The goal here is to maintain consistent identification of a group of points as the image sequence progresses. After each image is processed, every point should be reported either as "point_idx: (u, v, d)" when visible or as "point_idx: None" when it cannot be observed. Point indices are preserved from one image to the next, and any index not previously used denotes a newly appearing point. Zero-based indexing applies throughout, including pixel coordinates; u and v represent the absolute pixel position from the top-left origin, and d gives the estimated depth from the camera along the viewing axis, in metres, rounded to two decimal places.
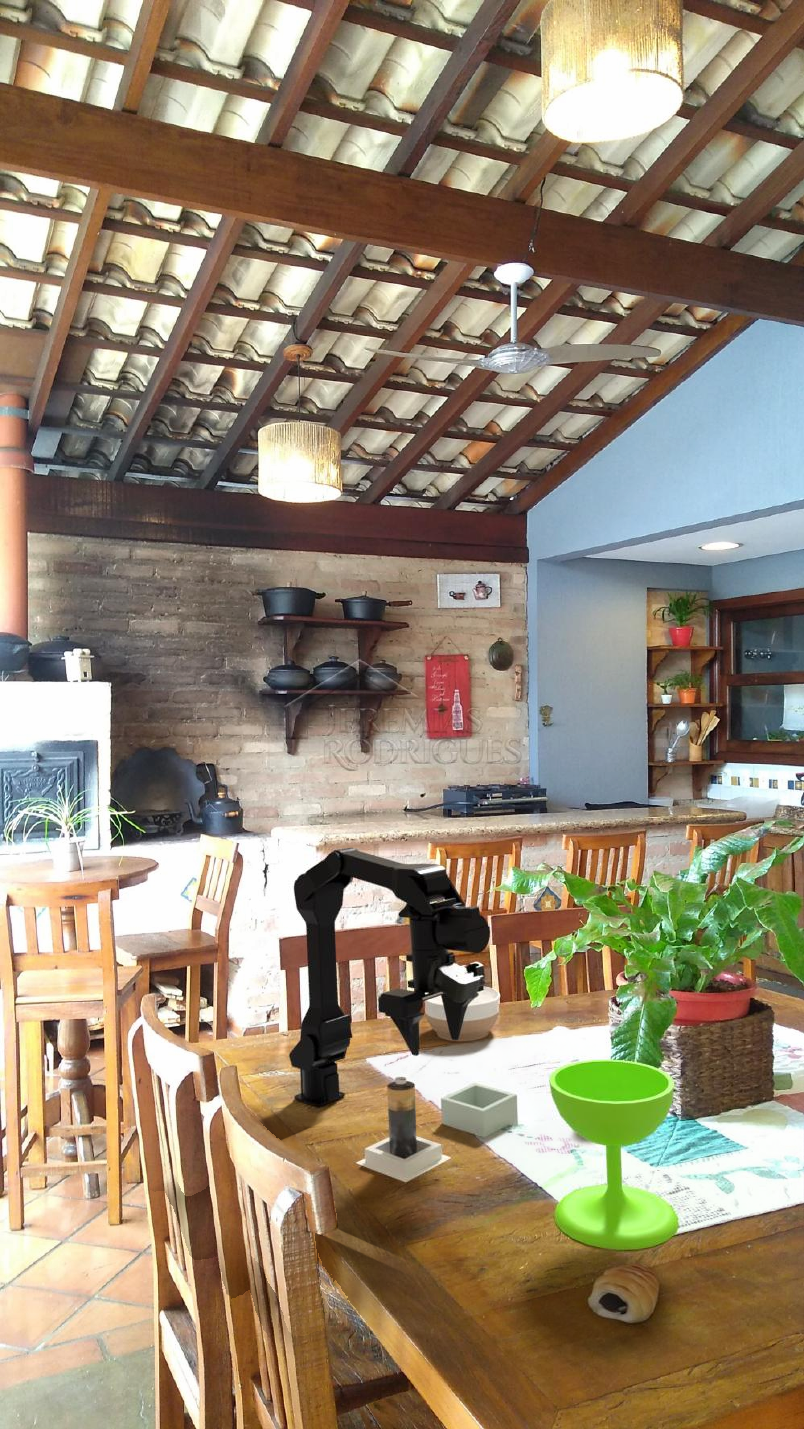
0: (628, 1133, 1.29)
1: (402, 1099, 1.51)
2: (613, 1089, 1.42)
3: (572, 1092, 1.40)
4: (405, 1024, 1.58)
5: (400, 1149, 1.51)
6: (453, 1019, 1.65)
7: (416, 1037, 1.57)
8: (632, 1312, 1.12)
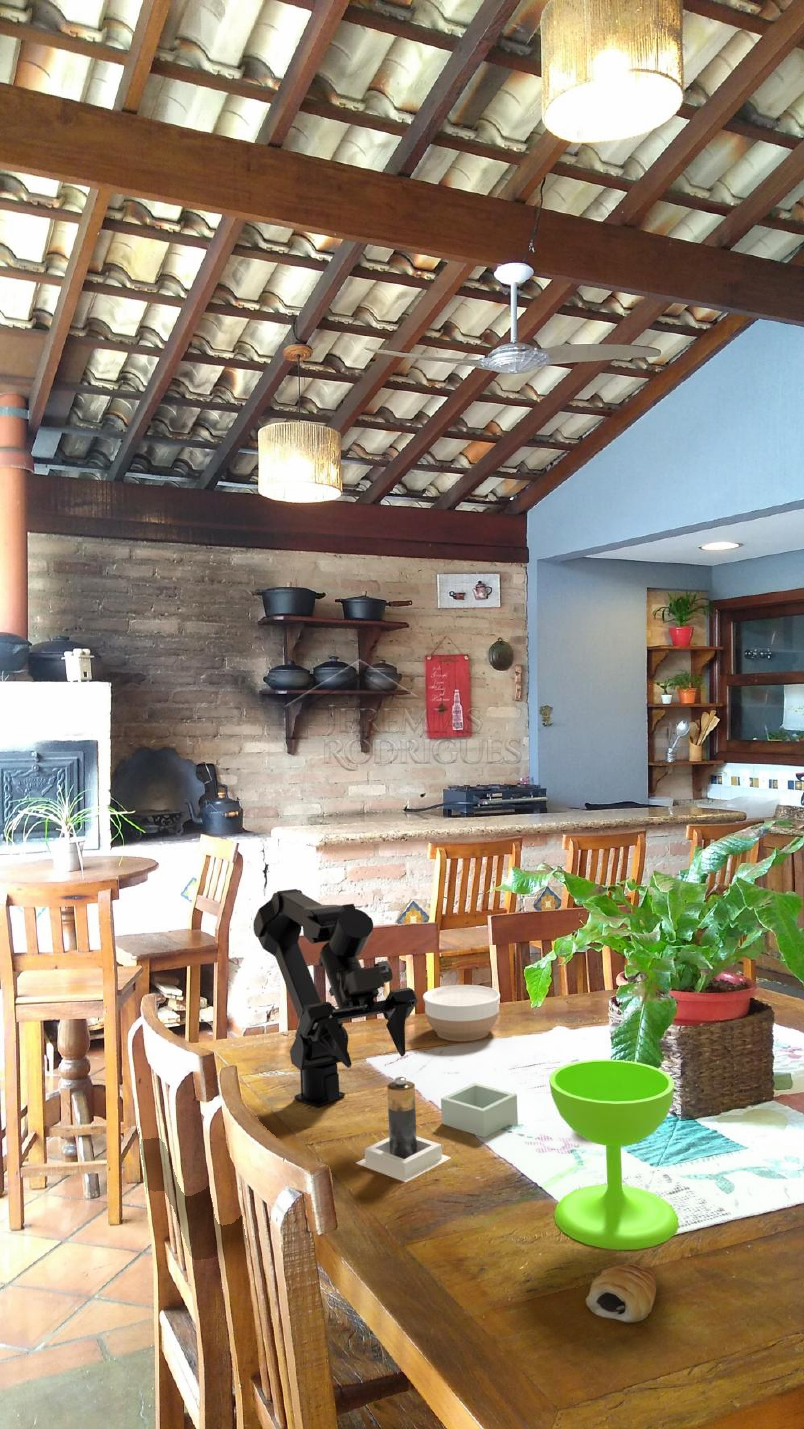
0: (628, 1133, 1.29)
1: (402, 1099, 1.51)
2: (613, 1089, 1.42)
3: (572, 1092, 1.40)
4: (331, 1041, 1.61)
5: (400, 1149, 1.51)
6: (396, 1037, 1.64)
7: (341, 1045, 1.59)
8: (630, 1312, 1.12)
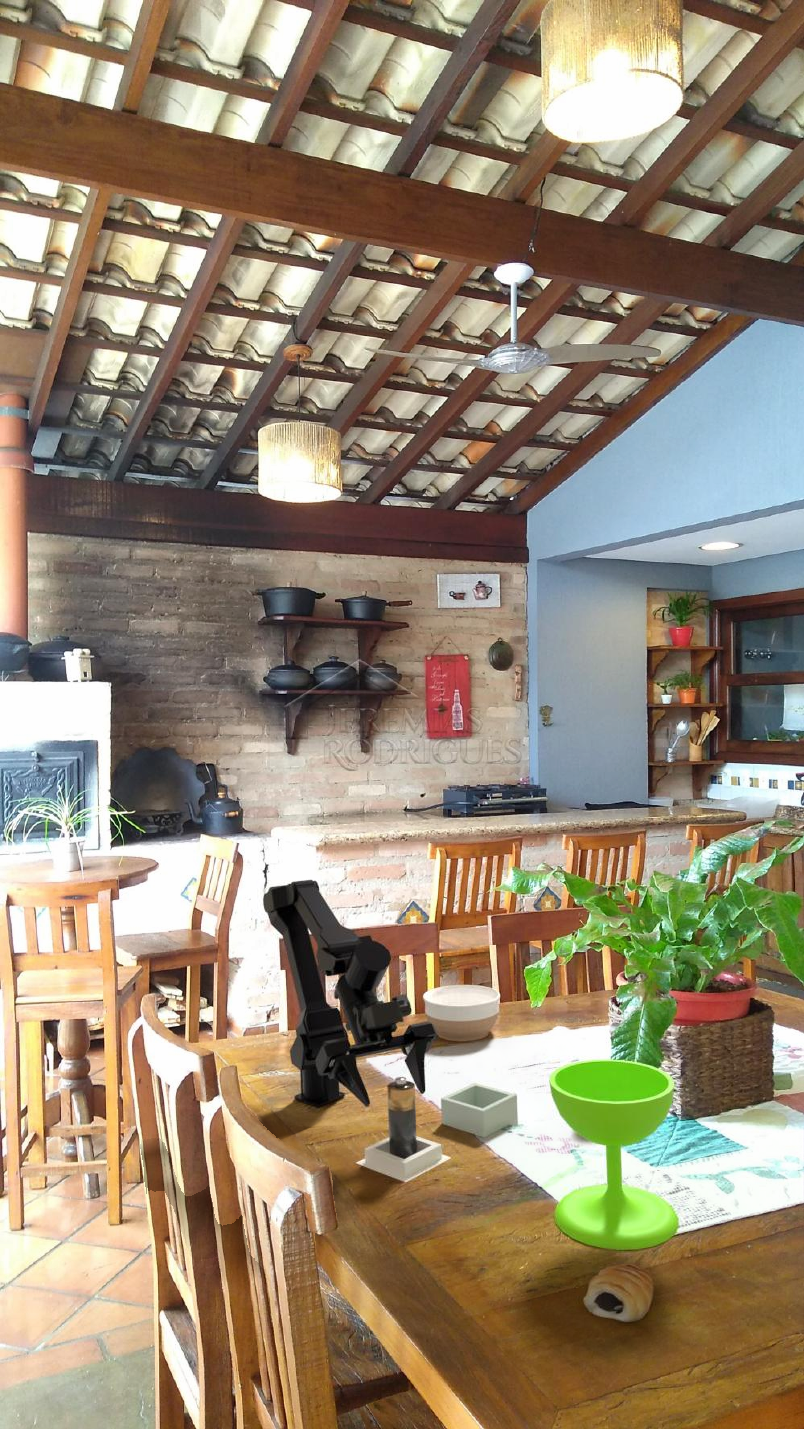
0: (628, 1133, 1.29)
1: (402, 1099, 1.51)
2: (613, 1089, 1.42)
3: (572, 1092, 1.40)
4: (349, 1079, 1.55)
5: (400, 1149, 1.51)
6: (415, 1073, 1.59)
7: (359, 1083, 1.53)
8: (628, 1311, 1.12)
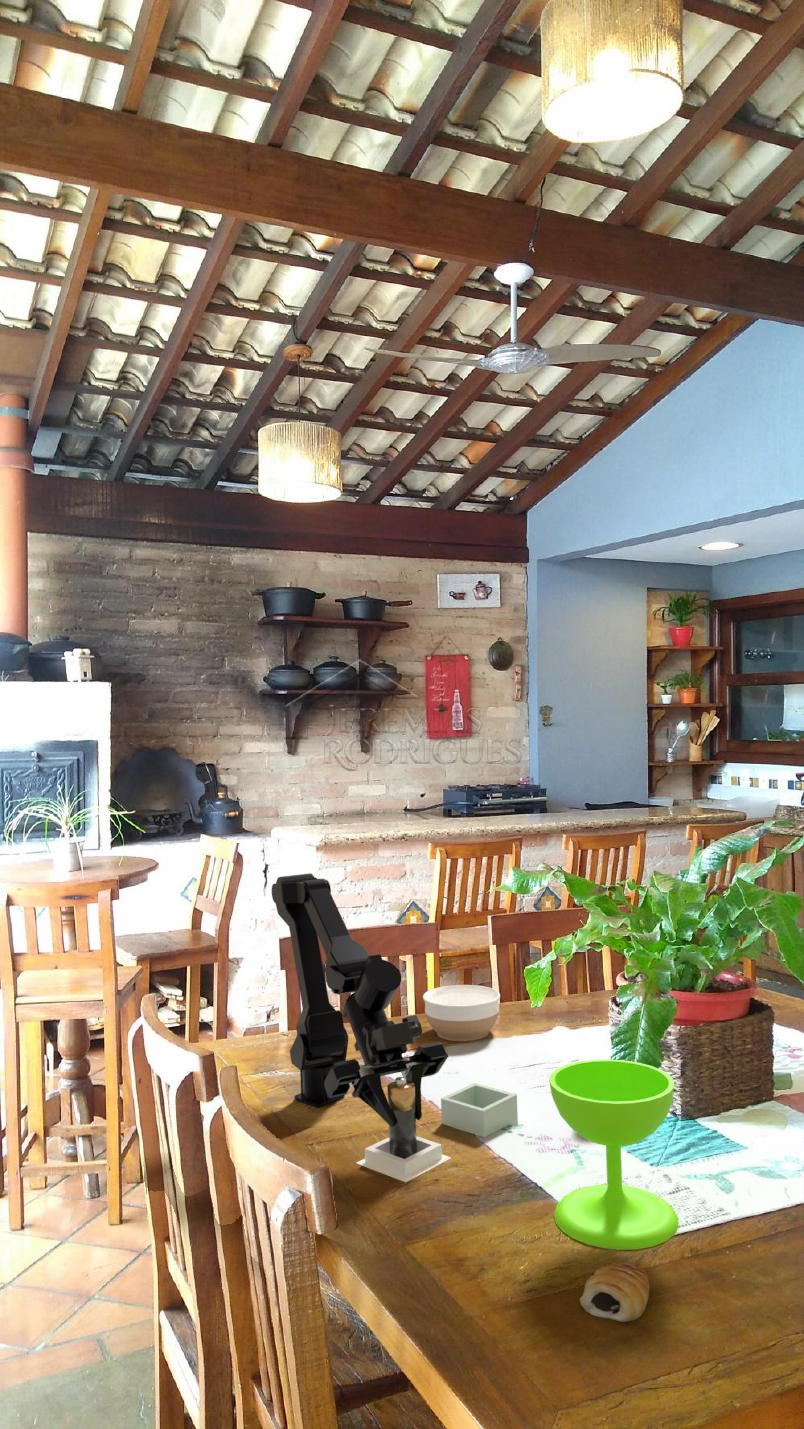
0: (628, 1133, 1.29)
1: (402, 1099, 1.51)
2: (613, 1089, 1.42)
3: (572, 1092, 1.40)
4: (373, 1098, 1.53)
5: (400, 1149, 1.51)
6: None
7: (384, 1103, 1.51)
8: (625, 1311, 1.12)
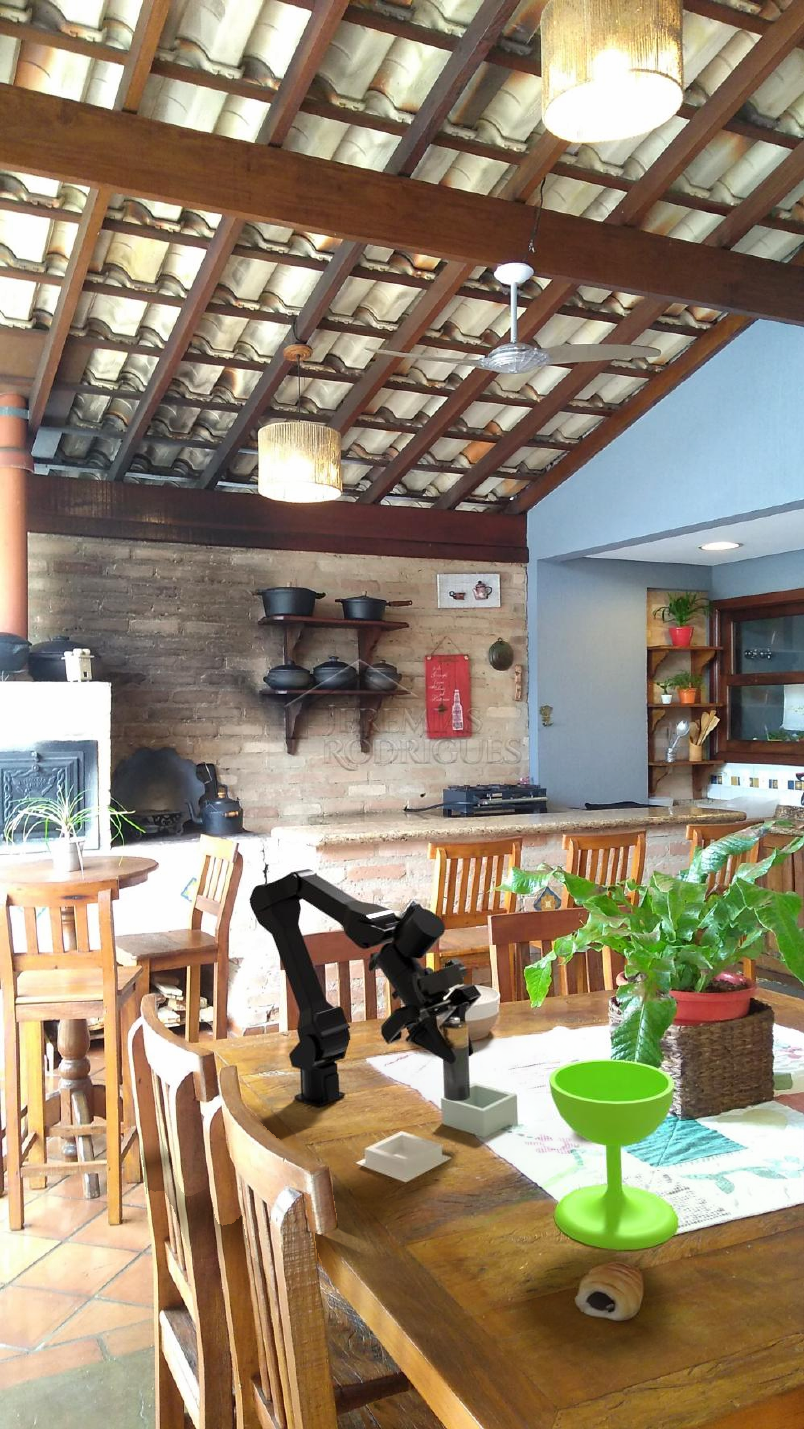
0: (628, 1133, 1.29)
1: (461, 1037, 1.58)
2: (613, 1089, 1.42)
3: (572, 1092, 1.40)
4: (428, 1040, 1.59)
5: (458, 1084, 1.58)
6: None
7: (443, 1042, 1.58)
8: (621, 1310, 1.12)
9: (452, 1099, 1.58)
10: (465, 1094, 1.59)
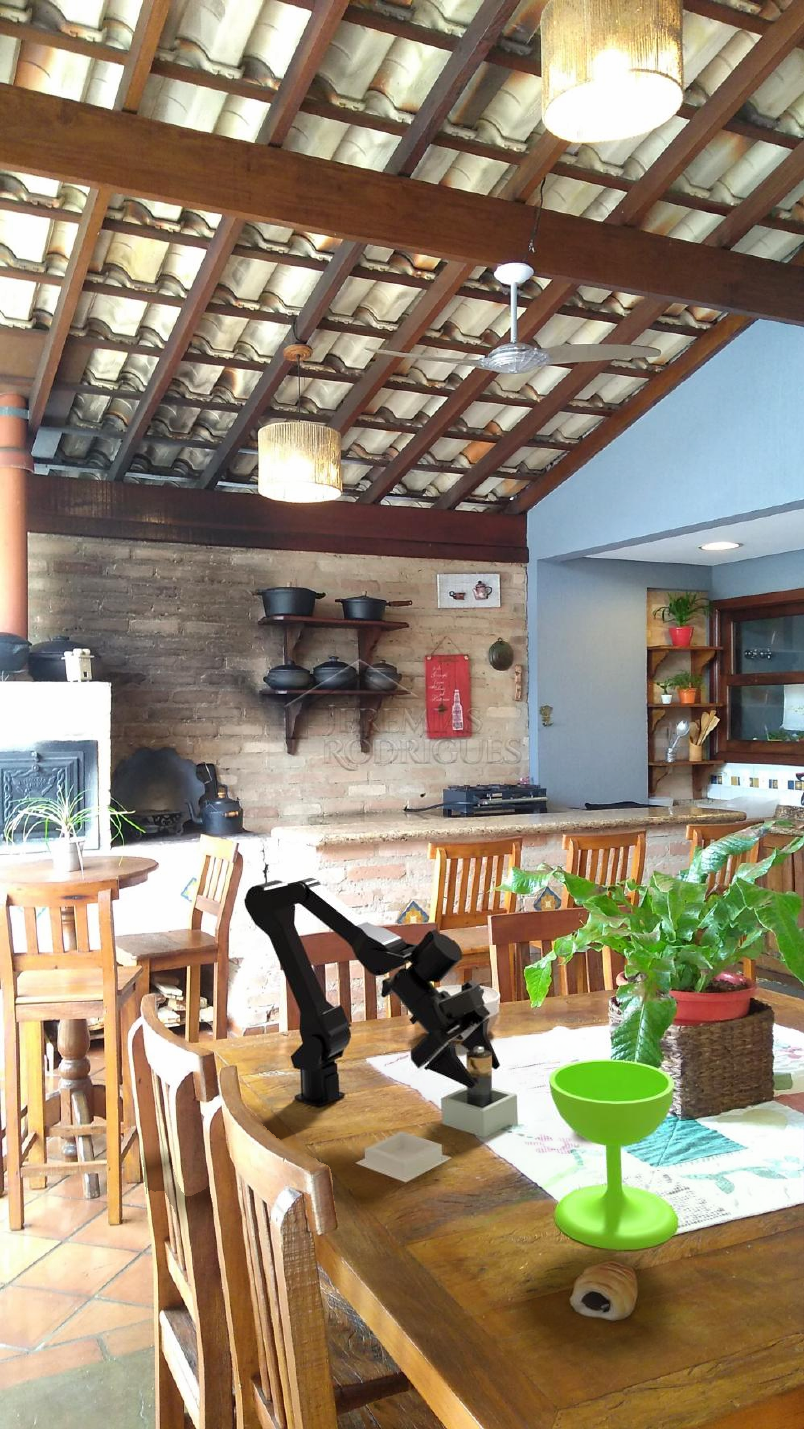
0: (628, 1133, 1.29)
1: (487, 1065, 1.64)
2: (613, 1089, 1.42)
3: (572, 1092, 1.40)
4: (447, 1066, 1.62)
5: None
6: None
7: (463, 1067, 1.61)
8: (616, 1310, 1.13)
9: None
10: None
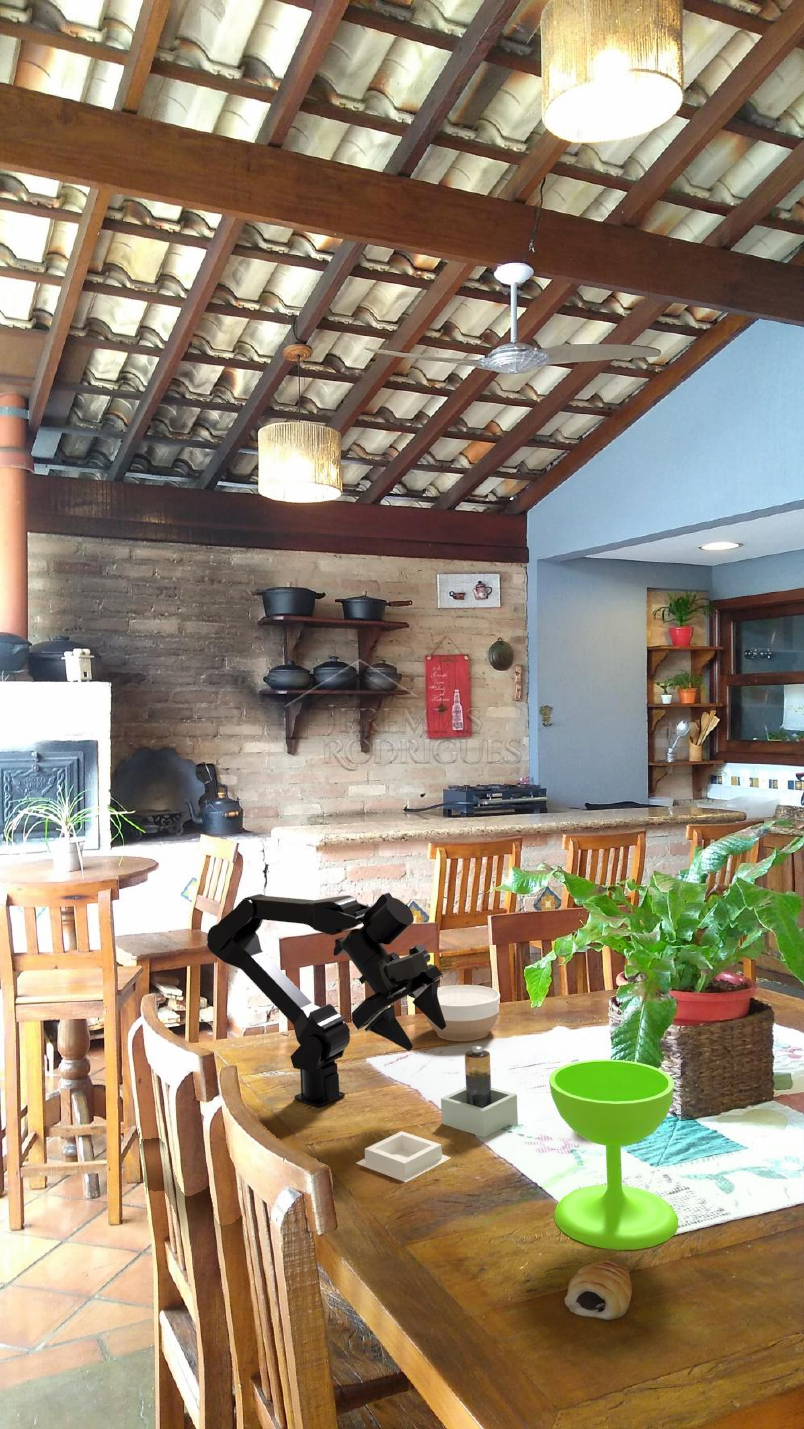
0: (628, 1133, 1.29)
1: (485, 1065, 1.64)
2: (613, 1089, 1.42)
3: (572, 1092, 1.40)
4: (387, 1029, 1.67)
5: None
6: (432, 1012, 1.75)
7: (401, 1031, 1.66)
8: (611, 1309, 1.13)
9: None
10: None
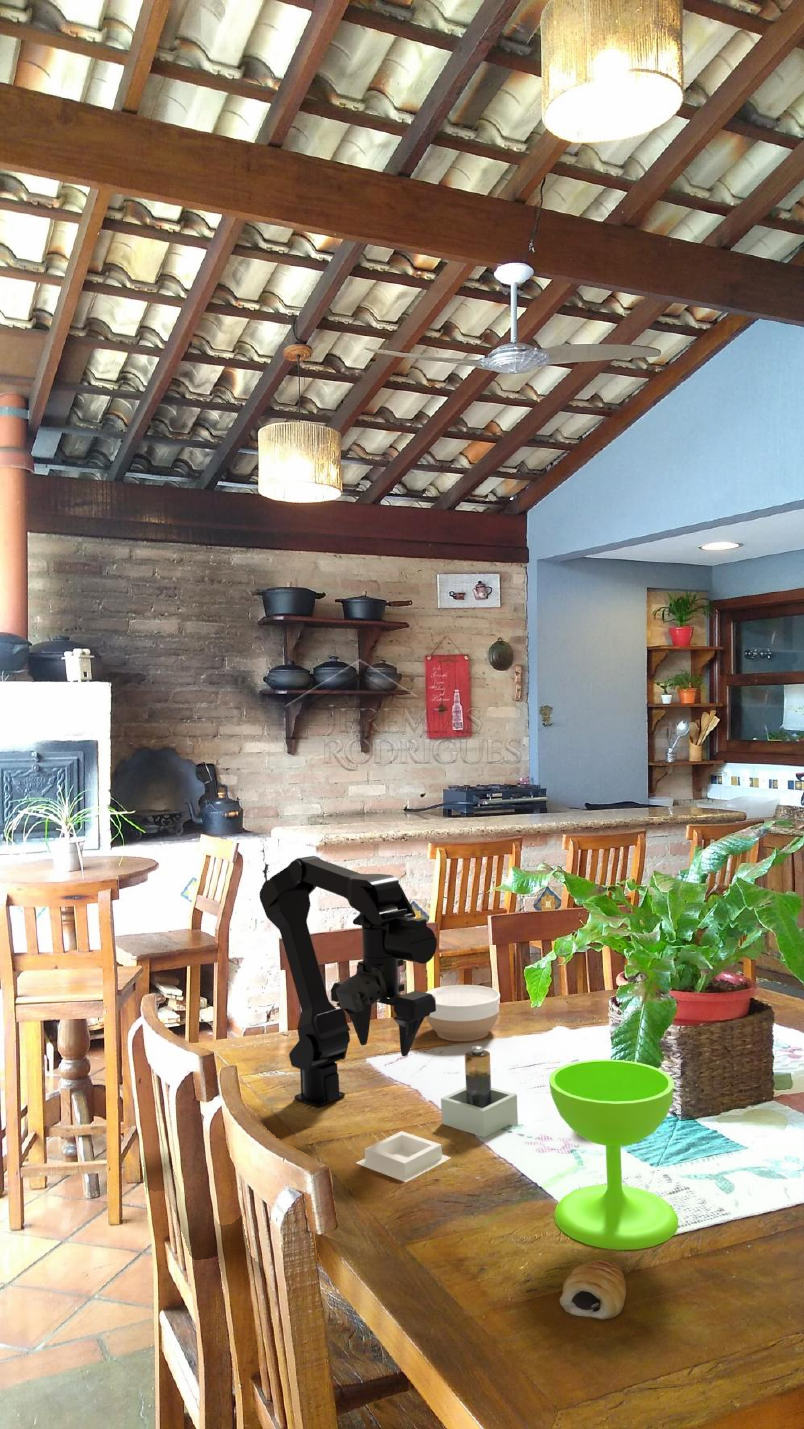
0: (628, 1133, 1.29)
1: (485, 1065, 1.65)
2: (613, 1089, 1.42)
3: (572, 1092, 1.40)
4: None
5: None
6: None
7: (355, 1027, 1.72)
8: (606, 1308, 1.13)
9: None
10: None
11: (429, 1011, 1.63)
